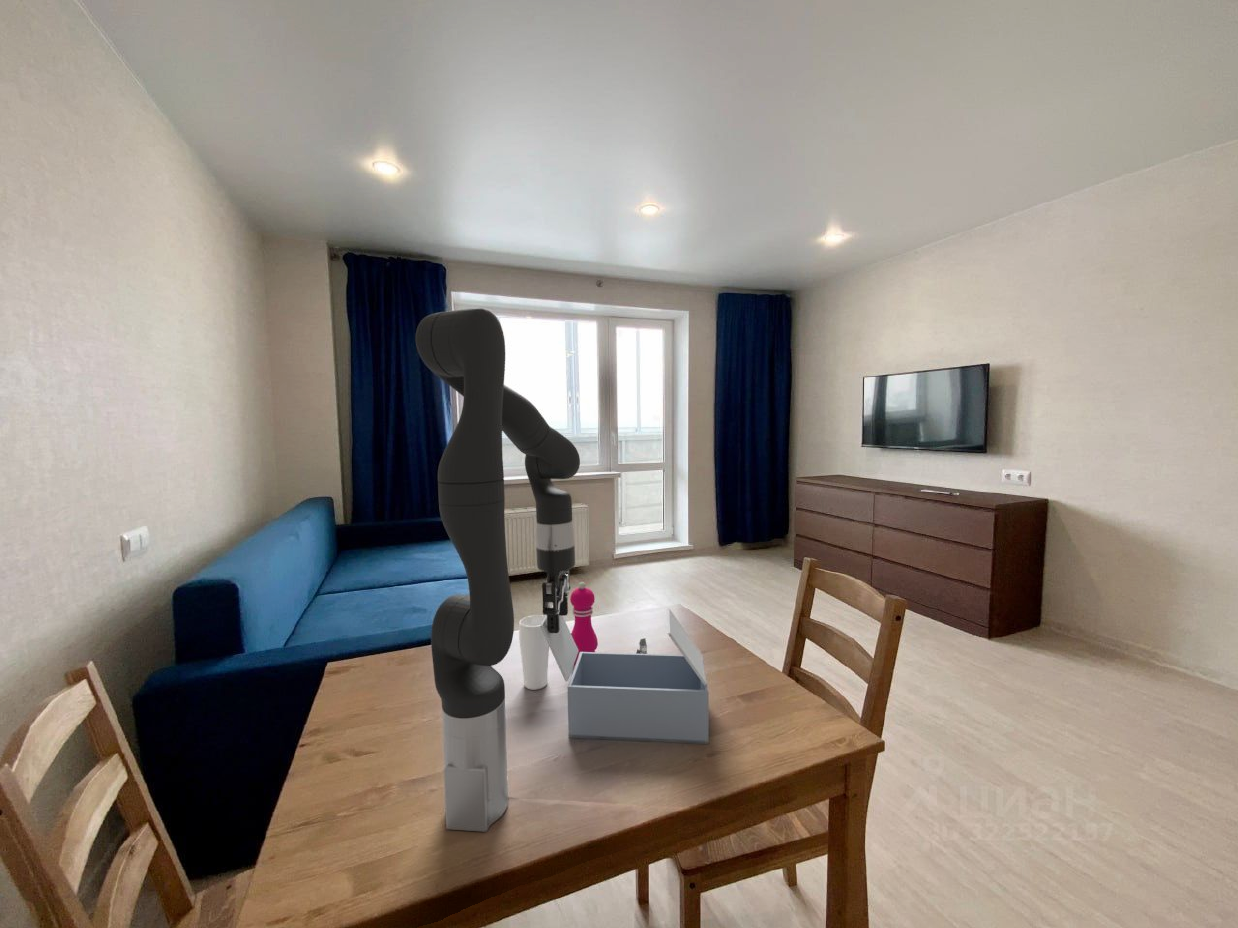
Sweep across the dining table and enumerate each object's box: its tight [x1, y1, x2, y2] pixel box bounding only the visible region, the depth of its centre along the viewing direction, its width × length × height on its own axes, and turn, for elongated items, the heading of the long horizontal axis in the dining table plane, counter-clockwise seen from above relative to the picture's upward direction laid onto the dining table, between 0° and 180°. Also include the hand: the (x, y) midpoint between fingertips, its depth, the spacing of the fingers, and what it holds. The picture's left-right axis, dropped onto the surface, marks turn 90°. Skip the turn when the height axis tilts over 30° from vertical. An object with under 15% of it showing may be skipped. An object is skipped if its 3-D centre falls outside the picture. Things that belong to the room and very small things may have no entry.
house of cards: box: [635, 637, 649, 654], centre depth 117 cm, size 9×9×8 cm
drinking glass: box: [518, 614, 550, 691], centre depth 109 cm, size 7×7×15 cm
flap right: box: [666, 608, 708, 685], centre depth 95 cm, size 12×12×1 cm
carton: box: [567, 651, 710, 745], centre depth 97 cm, size 14×26×10 cm, turn 85°
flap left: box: [540, 604, 579, 682], centre depth 97 cm, size 12×12×1 cm
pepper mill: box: [569, 581, 599, 666], centre depth 120 cm, size 7×7×20 cm
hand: (558, 623), depth 97 cm, fingers open, 8 cm apart
